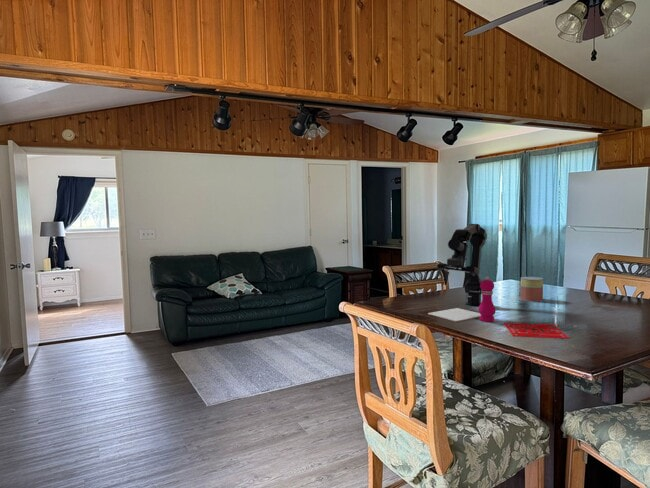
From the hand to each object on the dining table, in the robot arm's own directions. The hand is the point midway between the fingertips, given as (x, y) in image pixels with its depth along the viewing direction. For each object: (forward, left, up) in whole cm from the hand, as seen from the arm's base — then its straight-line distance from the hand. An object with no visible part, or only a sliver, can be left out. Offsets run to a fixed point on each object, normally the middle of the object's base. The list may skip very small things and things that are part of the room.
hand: (454, 286), depth 206 cm
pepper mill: (-3, +16, -14) cm, 22 cm away
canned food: (-60, -1, -14) cm, 62 cm away
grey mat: (0, +1, -14) cm, 14 cm away
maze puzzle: (-5, +38, -14) cm, 41 cm away
